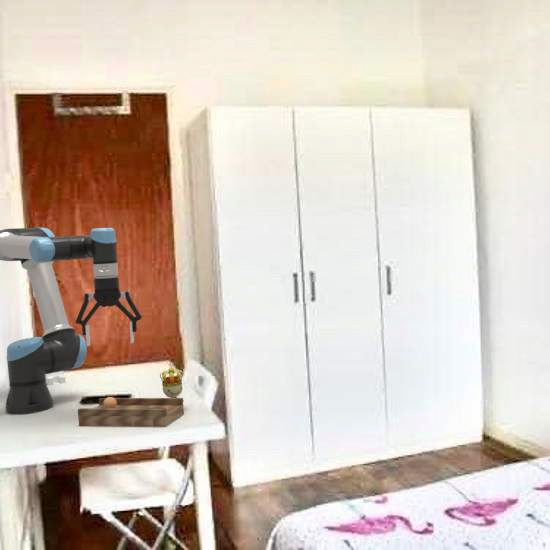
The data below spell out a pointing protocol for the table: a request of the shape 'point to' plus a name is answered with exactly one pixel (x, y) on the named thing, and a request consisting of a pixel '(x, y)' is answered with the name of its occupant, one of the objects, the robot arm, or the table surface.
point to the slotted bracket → (55, 378)
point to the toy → (172, 383)
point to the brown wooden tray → (133, 412)
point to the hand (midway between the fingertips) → (110, 344)
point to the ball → (110, 402)
